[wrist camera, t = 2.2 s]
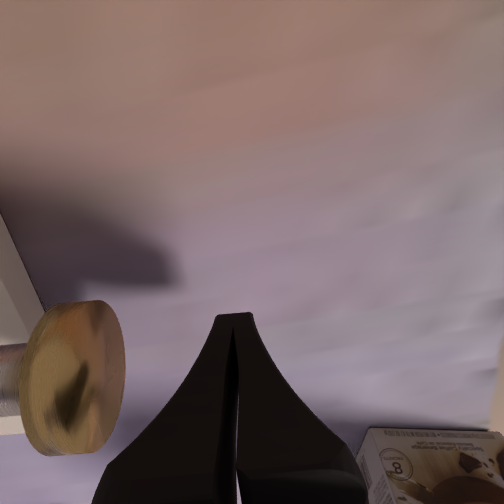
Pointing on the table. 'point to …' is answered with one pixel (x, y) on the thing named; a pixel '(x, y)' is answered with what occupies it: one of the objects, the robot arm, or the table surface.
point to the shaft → (66, 378)
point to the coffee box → (432, 466)
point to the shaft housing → (15, 309)
